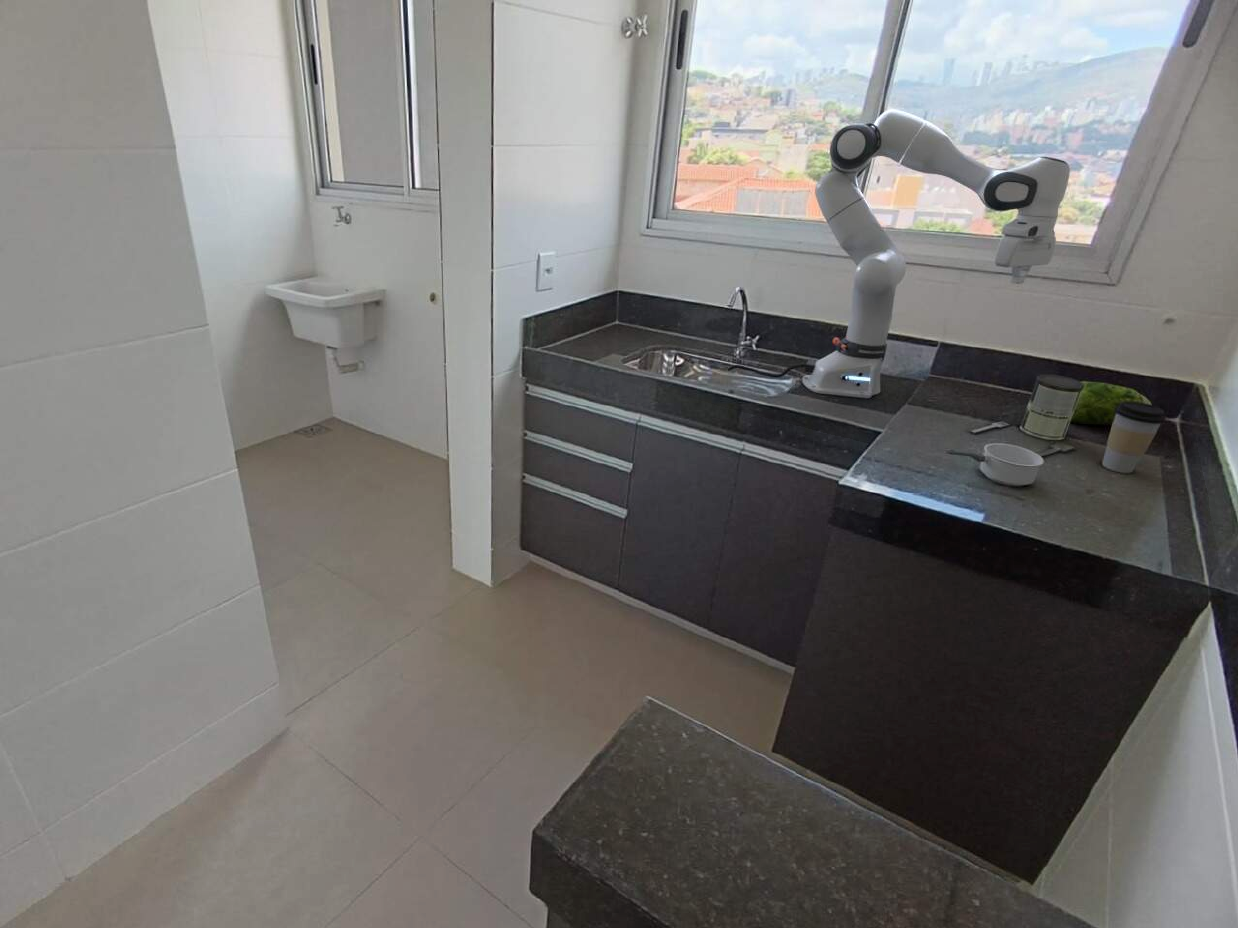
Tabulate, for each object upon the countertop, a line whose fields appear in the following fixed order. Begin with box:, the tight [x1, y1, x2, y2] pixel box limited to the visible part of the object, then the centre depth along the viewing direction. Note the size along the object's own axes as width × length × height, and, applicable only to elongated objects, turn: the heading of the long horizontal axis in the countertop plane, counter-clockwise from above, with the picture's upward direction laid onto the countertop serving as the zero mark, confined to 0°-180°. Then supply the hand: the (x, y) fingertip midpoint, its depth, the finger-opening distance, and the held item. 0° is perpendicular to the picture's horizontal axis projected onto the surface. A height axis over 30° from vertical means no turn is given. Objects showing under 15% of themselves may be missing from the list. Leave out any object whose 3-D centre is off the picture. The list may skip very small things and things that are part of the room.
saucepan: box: [945, 442, 1044, 487], centre depth 143 cm, size 12×20×6 cm, turn 89°
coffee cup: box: [1102, 401, 1167, 474], centre depth 149 cm, size 9×9×15 cm
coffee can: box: [1019, 374, 1085, 441], centre depth 167 cm, size 10×10×14 cm
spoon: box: [1037, 442, 1075, 458], centre depth 158 cm, size 14×3×1 cm, turn 122°
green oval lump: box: [1070, 380, 1152, 426], centre depth 176 cm, size 12×21×11 cm, turn 84°
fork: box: [969, 421, 1010, 435], centre depth 170 cm, size 15×2×1 cm, turn 122°
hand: (1016, 283), depth 173 cm, fingers closed
